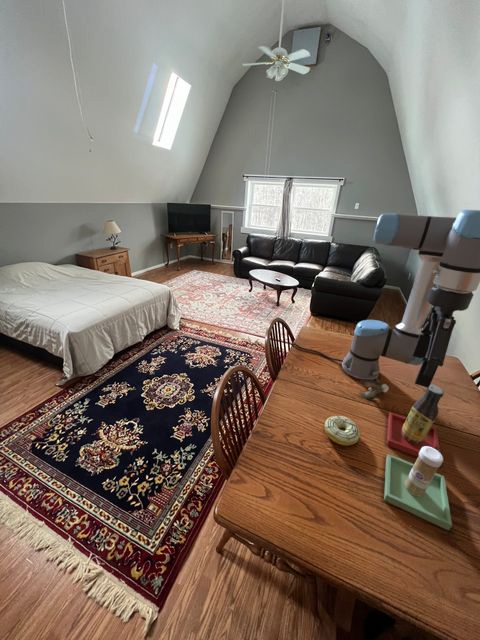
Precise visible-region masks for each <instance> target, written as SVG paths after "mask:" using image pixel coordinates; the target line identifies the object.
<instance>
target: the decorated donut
mask: <svg viewBox="0 0 480 640" xmlns="http://www.w3.org/2000/svg"><path fill="white" fill-rule="evenodd" d="M323 427H324V431H325V434H326V435H327V437H328V438H329V440H331V441H332V442H333V443H335V444H337V445H340V446H344V447H349V446H352V445H355V444H356V443H358V441H359V440H360V438H361V431H360V429H359V427H358V426H357V424H356V423H355V422H354V421H353V420H351V419H350V418H348V417H346V416H344V415H332V416H330V417H328V418H327V419H326V420H325V422H324V426H323Z"/></svg>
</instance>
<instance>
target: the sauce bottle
mask: <svg viewBox="0 0 480 640" xmlns="http://www.w3.org/2000/svg"><path fill="white" fill-rule="evenodd" d="M444 394H445V390H444V389H442V388H441V387H440V386H438V385H435V384H430V386H429V388H427V387H425V392H424V394H423V396H421V397H420V398H418V399H416V401H415V403H414V404H413V405H412V407H411V409H410V411H409V413H408V415H407V417H406V418H407V419H406V421H405V423H404V425H403V427H402V431H401V433H402V436H403V437H404V438H405V439H406V440H407V441H409V442H411V443H413V444H420V443H422V441H423V440H424V439H425V437H426V435H427V433H428V432H429V430H430V428H431V427H433V424H434V423H435V421H436V418H437V416H438V415H439V412H440V411H439V406H438V405H439V402H440V400H441V399H442V398H443V396H444Z"/></svg>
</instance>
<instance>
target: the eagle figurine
mask: <svg viewBox="0 0 480 640" xmlns="http://www.w3.org/2000/svg"><path fill="white" fill-rule="evenodd" d="M359 384H360V386H364V387H367V388H368V389H367V391H365V392H362V393H361V396H362V398H363V399H367V400H374V399H377V398H378V397H380V396H381V395H382V392H383V393H387V392H388V391H389V390H390V386H388V384H386V383H383V384H382V381H381V380H379V377H378V378H377V379H376V381H375V380H371V379H364V380H360V381H359Z"/></svg>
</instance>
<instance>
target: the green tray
mask: <svg viewBox="0 0 480 640" xmlns="http://www.w3.org/2000/svg"><path fill="white" fill-rule="evenodd" d="M414 464H415V463H412V462H409V461H407V460H405V459H402V458H399V457H397V456H395V455H392V454H390V453H388V454H386V458H385V471H384V472H385V475H384V491H383V492H384V494H383V501H385V502H387V503H389V504H391V505H393V506H395V507H398V508H400V509H402V510H404V511H406V512H408V513H410V514H413V515H414V516H417V517H419V518H421V519H423V520H425V521H427V522H429V523H431V524H433V525H436V526H438V527H440V528H442V529H444V530H446V531H451V528H452V527H453V521H452V515H451V510H450V504H449V503H450V502H449V497H448V492H447V485H446V479H445V476H444V475H442V474H439V473H437V472H436V473H435V475H434V477H433V479H432V481H431V483H430V484H429V486H428V488H427V489H426V491H425V494H424V495H423V496H422V497H417V496H414V495H413V494H411V493H410V492H409V491H408V490H407V489H406V487H405V481H406V480H407V478H408V476H409V474H410V472H411V470H412V468H413V466H414Z"/></svg>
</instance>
